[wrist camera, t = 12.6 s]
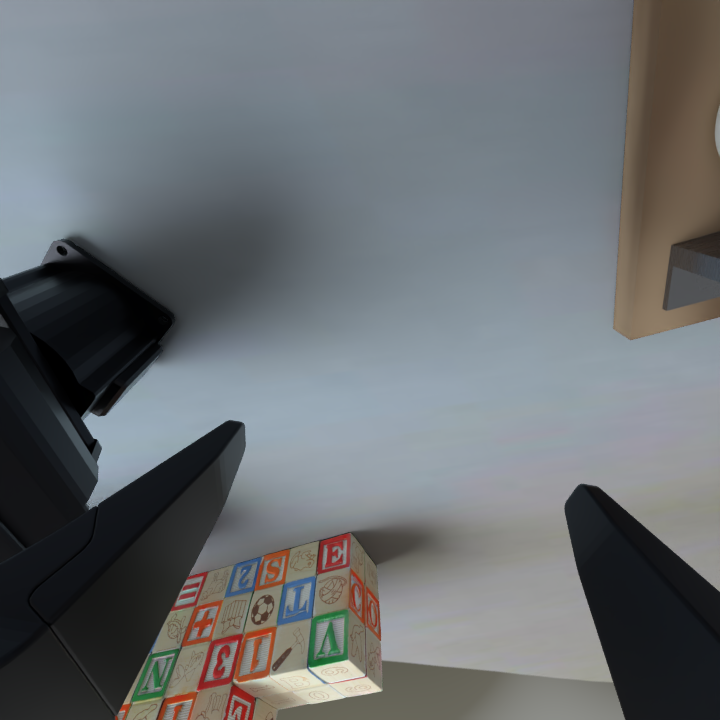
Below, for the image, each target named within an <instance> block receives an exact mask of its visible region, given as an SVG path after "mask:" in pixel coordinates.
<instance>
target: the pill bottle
mask: <svg viewBox="0 0 720 720" xmlns="http://www.w3.org/2000/svg"><path fill="white" fill-rule="evenodd" d="M715 142H716V147H717V151H718V154H719V156H720V105H719V109H718V113H717V117H716V124H715Z"/></svg>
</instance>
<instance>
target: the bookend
mask: <svg viewBox="0 0 720 720" xmlns="http://www.w3.org/2000/svg"><path fill="white" fill-rule="evenodd" d="M717 297H720V231H718V232H714V233H711V234H707V235H704V236H701V237H697V238H694V239H690V240H687V241H683V242H680V243H677V244H673V245H671V250H670V257H669V264H668V271H667V279H666V286H665V293H664V300H663V307H662V309H663V310H665V311H669V310H672V309H676V308H680V307H684V306H687V305H691V304H695V303H699V302H702V301H706V300H710V299H714V298H717Z"/></svg>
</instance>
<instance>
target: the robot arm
mask: <svg viewBox="0 0 720 720" xmlns="http://www.w3.org/2000/svg"><path fill="white" fill-rule="evenodd" d="M62 246H63V247H65V248H66V249H67V252H68V254H67V253H65V252H64V251H63V248H62ZM162 317H165V318H166V319H167V321H168V322H166V321H164V320H163V319H162ZM174 323H175V317H174V315H173V314H172V313H171V312H170V311H169V310H167V309H166V308H164V307H163V306H162V305H160V304H159V303H157V302H156V301H155V300H153V299H152V298H150V297H149V296H147V295H146V294H145V293H143V292H142V291H140V290H139V289H138V288H136V287H135V286H133V285H132V284H131V283H129V282H128V281H126V280H125V279H123V278H122V277H121V276H119V275H118V274H116V273H115V272H114V271H112V270H111V269H109V268H108V267H107V266H105V265H104V264H102V263H101V262H99V261H98V260H97V259H95V258H94V257H92V256H91V255H90V254H88V253H87V252H85V251H84V250H83V249H81V248H80V247H78V246H77V245H75V244H74V243H73V242H71V241H69V240H67V239H61V240H57V241H54V242H53V243H52V244H51V246H50V248H49V250H48V252H47V254H46V256H45V258H44V259H43V261H42V263H41V265H40V266H37V267H35V268H32V269H29V270H26V271H23V272H20V273H18V274H15V275H12V276H9V277H6V278H3V279H1V278H0V720H115V719H116V718H115V716H117V715H118V713H119V711H120V709H121V707H122V705H123V703H124V701H125V699H126V697H127V695H128V693H129V691H130V689H131V687H132V686H133V684H134V682H135V680H136V678H137V676H138V674H139V672H140V670H141V668H142V666H143V664H144V662H145V660H146V658H147V656H148V654H149V652H150V650H151V648H152V646H153V644H154V642H155V640H156V638H157V637H158V635H159V633H160V631H161V629H162V627H163V625H164V623H165V621H166V619H167V617H168V615H169V613H170V611H171V609H172V607H173V605H174V603H175V601H176V599H177V597H178V595H179V593H180V591H181V589H182V587H183V586H184V584H185V582H186V580H187V578H188V576H189V574H190V572H191V570H192V568H193V566H194V564H195V562H196V560H197V558H198V556H199V554H200V552H201V550H202V548H203V546H204V544H205V542H206V540H207V538H208V536H209V535H210V533H211V531H212V529H213V527H214V525H215V523H216V521H217V519H218V517H219V515H220V513H221V511H222V509H223V507H224V504H225V502H226V499H227V497H228V494H229V491H230V489H231V486H232V483H233V481H234V478H235V475H236V473H237V470H238V468H239V465H240V462H241V460H242V457H243V454H244V451H245V446H246V441H245V425H244V423H242V422H238V421H233V420H229V421H226V422H225V423H223V424H222V425H220V426H218V427H217V428H215V429H214V430H212V431H211V432H209V433H208V434H206V435H205V436H203V437H201V438H200V439H198V440H197V441H195V442H194V443H192V444H191V445H189V446H188V447H186V448H184V449H183V450H181V451H180V452H178V453H177V454H175V455H174V456H172V457H171V458H169V459H167V460H166V461H164V462H163V463H161V464H160V465H158V466H157V467H155V468H154V469H152V470H150V471H149V472H147V473H146V474H144V475H143V476H141V477H140V478H138V479H137V480H135V481H133V482H132V483H130V484H129V485H127V486H126V487H124V488H123V489H121V490H120V491H118V492H116V493H115V494H113V495H112V496H110V497H109V498H107V499H106V500H104V501H103V502H101V503H99V505H98V507H97V506H95V507H93V508H91V509H90V510H89V506H88V505H87V504H86V503H87V501H88V500H89V498H90V496H91V494H92V492H93V490H94V488H95V486H96V484H97V482H98V465H97V461H98V458H99V455H100V453H101V450H102V447H101V445H100V444H99V442H98V440H97V439H93V437H92V435H91V434H90V432H89V430H88V429H87V427H86V425H85V424H84V422H83V420H84V419H85V418H86V417H87V416H88V415H89V414H90V413H93V414H95V415H97V416H105V415H106V414H107V413H108V412H109V411H110V410H111V409H112V408H113V407H114V406H115V405H116V404H117V403H118V402H119V401H120V400H121V399H122V398H123V397H124V395H125V394H126V393H127V392H128V391H129V390H130V389H131V388H132V387H133V386H134V385H135V384H136V383H137V382H138V381H139V380H140V379H141V378H142V377H143V375H144V374H145V373H146V372H147V370H148V369H149V368H150V367H151V365H152V364H153V363H154V362H155V360H156V359H157V358H158V357H159V355H160V354H161V353H162V352H163V349H162V346H161V345H160V344H159V342H160V341H161V340H162V338H163V337H164V336H165V335H166V333H167V332H168V331H169V329H170V328H171V327H172V326H173V324H174ZM565 515H566V520H567V525H568V529H569V534H570V539H571V543H572V548H573V552H574V557H575V562H576V566H577V570H578V573H579V576H580V580H581V583H582V586H583V589H584V592H585V596H586V599H587V602H588V605H589V608H590V611H591V614H592V617H593V620H594V624H595V627H596V630H597V633H598V636H599V639H600V642H601V645H602V649H603V652H604V655H605V658H606V661H607V664H608V667H609V670H610V673H611V677H612V680H613V683H614V686H615V689H616V692H617V695H618V698H619V701H620V705H621V708H622V711H623V714H624V717H625V720H720V592H719V591H718V590H717V589H716V588H715V587H713V586H712V585H711V584H710V583H709V582H708V581H707V580H705V579H704V578H703V577H702V576H701V575H700V574H698V573H697V572H696V571H695V570H694V569H693V568H692V567H690V566H689V565H688V564H687V563H686V562H685V561H683V560H682V559H681V558H680V557H679V556H678V555H677V554H675V553H674V552H673V551H672V550H671V549H670V548H668V547H667V546H666V545H665V544H664V543H663V542H661V541H660V540H659V539H658V538H657V537H656V536H655V535H653V534H652V533H651V532H650V531H649V530H648V529H646V528H645V527H644V526H643V525H642V524H641V523H640V522H638V521H637V520H636V519H635V518H634V517H633V516H631V515H630V514H629V513H628V512H627V511H626V510H625V509H623V508H622V507H621V506H620V505H619V504H618V503H616V502H615V501H614V500H613V499H612V498H611V497H609V496H608V495H607V494H606V493H605V492H604V491H603V490H601V489H600V488H599V487H597V486H593V485H588V484H580V485H578V486H577V487H576V489H575V490H574V491H573V493H572V494H571V496H570V497H569V498H568V500H567V501H566V503H565Z"/></svg>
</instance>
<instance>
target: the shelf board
mask: <svg viewBox="0 0 720 720" xmlns="http://www.w3.org/2000/svg"><path fill="white" fill-rule="evenodd" d="M719 105H720V0H634V11H633V26H632V42H631V58H630V74H629V89H628V105H627V121H626V137H625V153H624V168H623V184H622V200H621V216H620V231H619V247H618V263H617V279H616V294H615V310H614V326H613V329H614V330H616V331H617V332H619V333H620V334H622V335H623V336H625V337H626V338H628V339H629V340H633V339H637V338H641V337H645V336H649V335H653V334H656V333H660V332H664V331H668V330H672V329H676V328H679V327H683V326H687V325H691V324H695V323H699V322H702V321H706V320H710V319H714V318H718V317H720V297H717V298H714V299H710V300H706V301H702V302H699V303H695V304H691V305H687V306H684V307H680V308H676V309H672V310H669V311H665V310H663V309H662V307H663V300H664V293H665V286H666V279H667V271H668V264H669V257H670V250H671V245H673V244H677V243H680V242H683V241H687V240H690V239H694V238H697V237H701V236H704V235H707V234H711V233H714V232H718V231H720V156H719V154H718V151H717V147H716V142H715V124H716V117H717V113H718V109H719Z"/></svg>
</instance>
